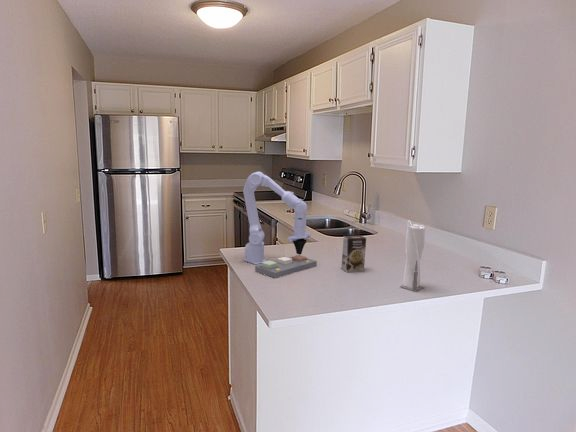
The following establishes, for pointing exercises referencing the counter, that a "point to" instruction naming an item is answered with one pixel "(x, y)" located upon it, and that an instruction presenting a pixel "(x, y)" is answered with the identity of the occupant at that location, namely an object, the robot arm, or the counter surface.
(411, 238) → the skyscraper
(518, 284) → the counter surface
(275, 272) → the keypad
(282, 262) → the cream key
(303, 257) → the terracotta key
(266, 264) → the sage key
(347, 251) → the coffee box
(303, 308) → the counter surface
